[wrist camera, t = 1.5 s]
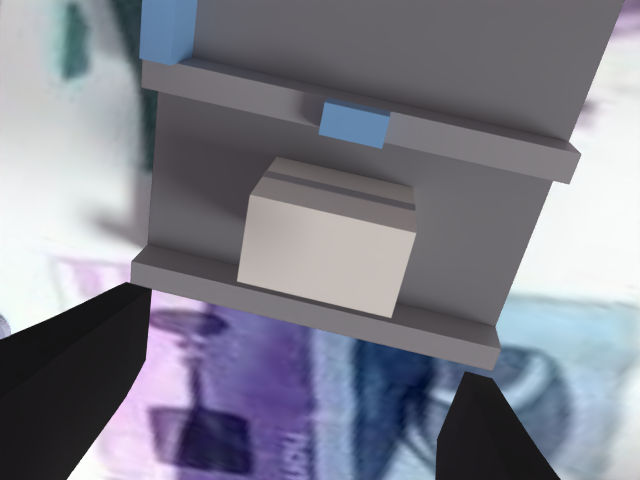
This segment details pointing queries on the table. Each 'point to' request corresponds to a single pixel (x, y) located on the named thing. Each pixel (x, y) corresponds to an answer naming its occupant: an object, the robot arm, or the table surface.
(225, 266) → the board
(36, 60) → the table surface
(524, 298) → the table surface
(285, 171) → the beige rectangular box
